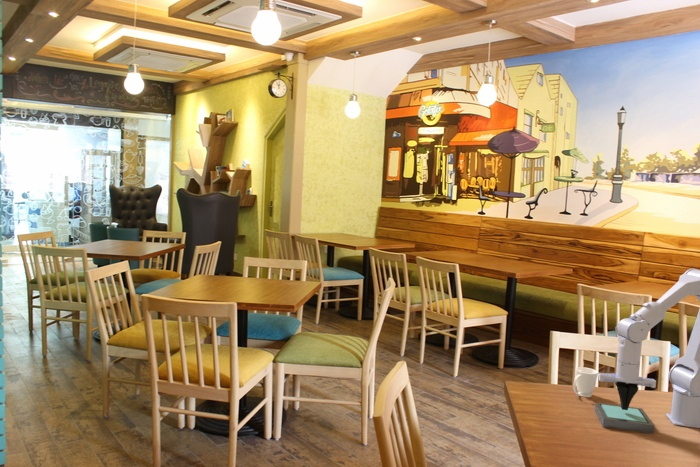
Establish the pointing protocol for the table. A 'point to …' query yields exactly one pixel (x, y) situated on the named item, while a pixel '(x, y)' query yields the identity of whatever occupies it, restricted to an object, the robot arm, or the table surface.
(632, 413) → the plate
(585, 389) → the cup
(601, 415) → the plate housing
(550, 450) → the table surface
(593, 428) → the table surface
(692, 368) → the robot arm
